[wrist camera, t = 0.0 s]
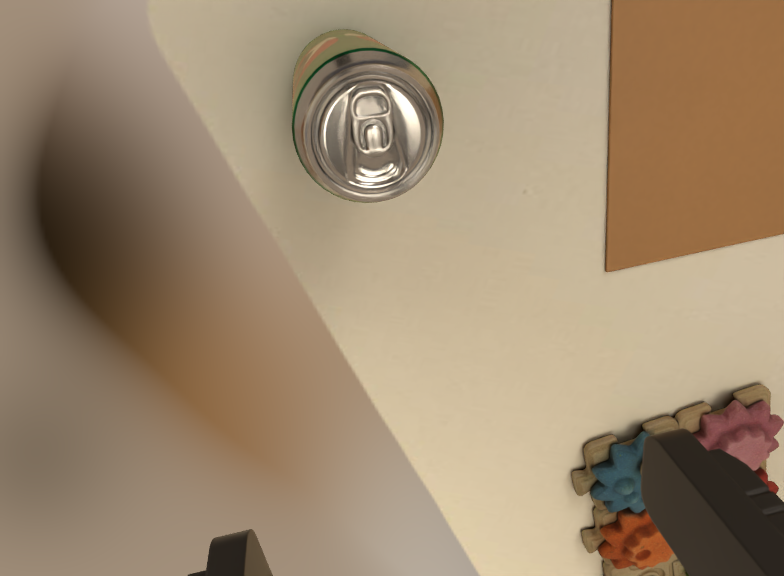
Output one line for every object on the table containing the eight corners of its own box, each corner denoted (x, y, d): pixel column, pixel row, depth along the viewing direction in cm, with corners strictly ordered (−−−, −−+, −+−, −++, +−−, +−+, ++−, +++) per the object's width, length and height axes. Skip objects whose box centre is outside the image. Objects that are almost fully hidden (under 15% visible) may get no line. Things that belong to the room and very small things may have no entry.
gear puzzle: (756, 608, 57) (787, 649, 54) (605, 658, 57) (626, 703, 54) (768, 374, 42) (811, 409, 39) (563, 443, 42) (587, 485, 39)
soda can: (301, 140, 29) (305, 223, 19) (284, 34, 27) (278, 60, 16) (397, 128, 30) (454, 202, 19) (389, 23, 27) (448, 41, 17)
